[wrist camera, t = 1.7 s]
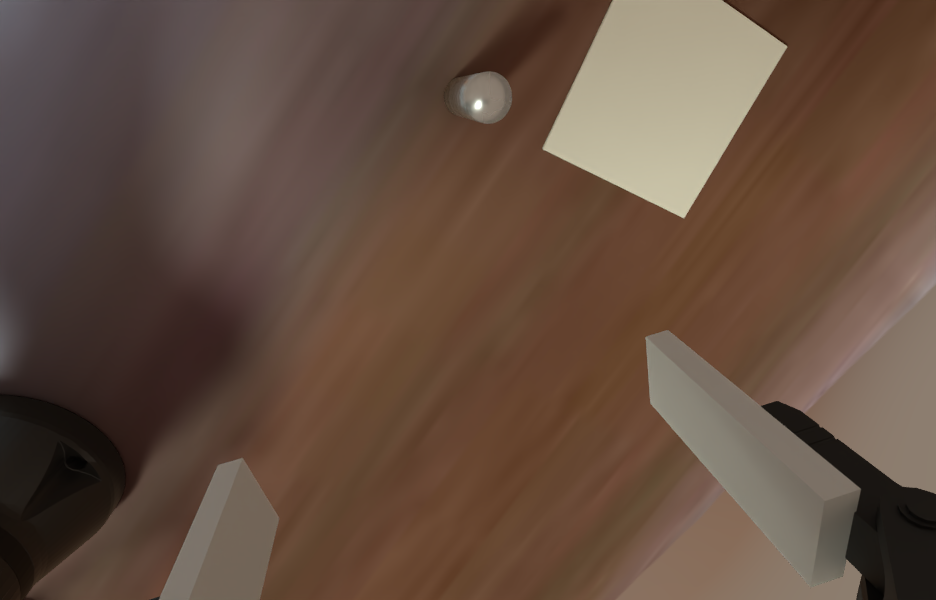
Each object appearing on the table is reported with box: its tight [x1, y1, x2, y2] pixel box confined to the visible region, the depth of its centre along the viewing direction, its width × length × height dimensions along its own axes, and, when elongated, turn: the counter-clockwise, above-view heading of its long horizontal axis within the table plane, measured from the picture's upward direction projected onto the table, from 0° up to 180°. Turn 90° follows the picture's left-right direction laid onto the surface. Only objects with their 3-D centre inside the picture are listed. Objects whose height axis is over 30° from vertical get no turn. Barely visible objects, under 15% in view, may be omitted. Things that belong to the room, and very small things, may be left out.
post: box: [444, 71, 512, 124], centre depth 28 cm, size 2×2×9 cm
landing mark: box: [542, 0, 787, 218], centre depth 34 cm, size 14×14×1 cm
